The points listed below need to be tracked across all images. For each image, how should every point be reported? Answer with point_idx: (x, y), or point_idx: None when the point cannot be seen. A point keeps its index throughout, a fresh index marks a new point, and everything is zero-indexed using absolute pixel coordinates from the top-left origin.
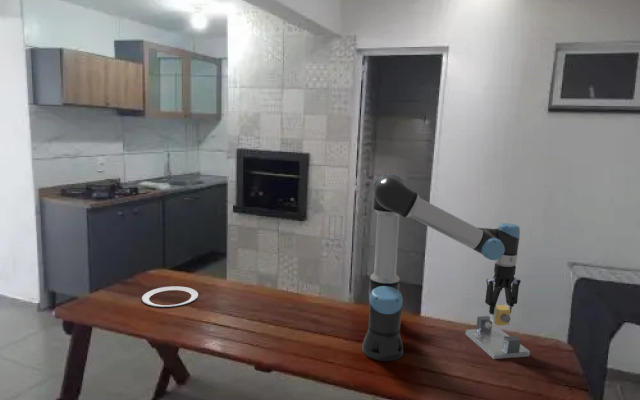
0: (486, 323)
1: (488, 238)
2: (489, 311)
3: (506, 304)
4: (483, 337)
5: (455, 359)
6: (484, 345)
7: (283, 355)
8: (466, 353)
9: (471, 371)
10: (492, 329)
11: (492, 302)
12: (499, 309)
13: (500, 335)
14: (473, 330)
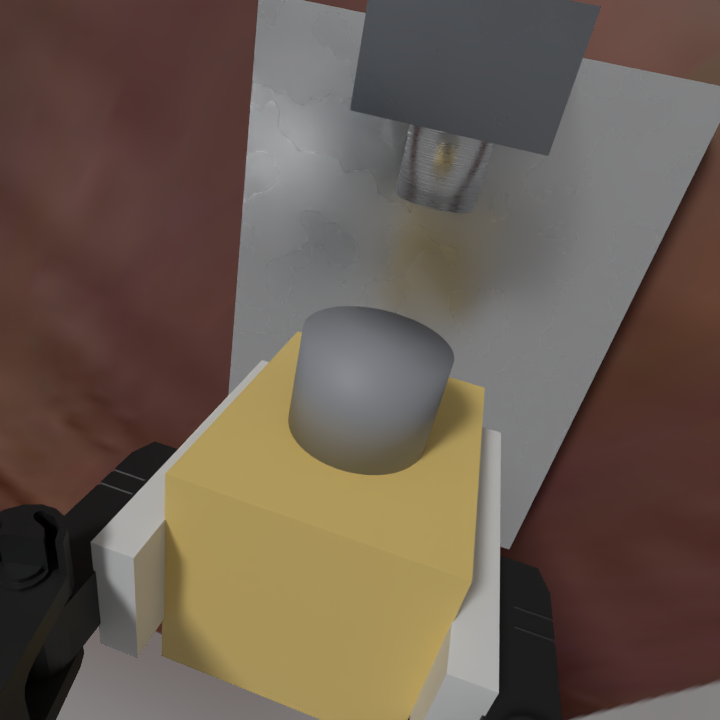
0: (410, 166)
1: None
2: (126, 466)
3: (464, 709)
4: (324, 234)
5: (7, 334)
6: (232, 347)
7: None
8: (105, 309)
9: (47, 454)
10: (595, 108)
11: (34, 628)
12: (201, 645)
13: (535, 271)
14: (335, 45)
